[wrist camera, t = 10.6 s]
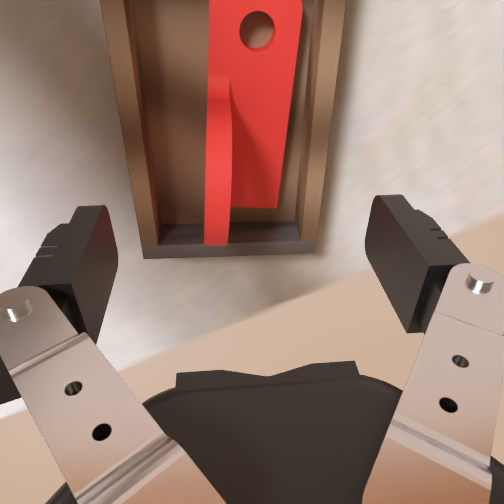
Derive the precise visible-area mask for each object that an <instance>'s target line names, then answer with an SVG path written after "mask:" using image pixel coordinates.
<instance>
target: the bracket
mask: <svg viewBox="0 0 504 504" xmlns="http://www.w3.org/2000/svg"><path fill="white" fill-rule="evenodd" d="M253 11H263V12H265V13H267V14H268V15H269V16H270V18H271V20H272V24H273V32H272V36H271V38H270V40H269V41H268V42H267V43H266V44H265V45H264V46H262V47H259V48H251V47H249V46H247V45H245V44H244V43H243V42H242V40H241V38H240V34H239V29H240V24H241V22H242V20H243V18H244V17H245V16H246V15H247V14H249V13H251V12H253ZM302 12H303V6H302V1H301V0H209V50H208V97H207V128H206V171H205V221H204V245H205V246H227V242H228V234H229V221H230V207H252V208H277V202H278V195H279V187H280V180H281V172H282V164H283V157H284V149H285V142H286V134H287V126H288V119H289V111H290V103H291V96H292V88H293V81H294V73H295V65H296V58H297V50H298V43H299V35H300V27H301V20H302Z"/></svg>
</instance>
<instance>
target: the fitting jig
mask: <svg viewBox="0 0 504 504" xmlns="http://www.w3.org/2000/svg"><path fill="white" fill-rule="evenodd" d="M301 1H302V6H303V12H302V20H301V27H300V35H299V43H298V50H297V58H296V65H295V73H294V81H293V88H292V96H291V103H290V111H289V119H288V126H287V134H286V142H285V149H284V157H283V164H282V172H281V180H280V187H279V195H278V202H277V208H252V207H230V221H229V234H228V242H227V246H205V245H204V221H205V171H206V128H207V97H208V50H209V0H100V4H101V10H102V16H103V21H104V27H105V33H106V39H107V45H108V51H109V57H110V63H111V69H112V75H113V81H114V86H115V92H116V98H117V104H118V110H119V116H120V122H121V128H122V134H123V140H124V146H125V152H126V157H127V163H128V169H129V175H130V181H131V187H132V193H133V199H134V205H135V211H136V217H137V222H138V228H139V234H140V240H141V246H142V252H143V258H144V259H161V258H190V257H219V256H248V255H276V254H305V253H315V248H316V240H317V232H318V224H319V216H320V208H321V200H322V192H323V184H324V176H325V168H326V160H327V152H328V144H329V135H330V127H331V119H332V111H333V103H334V95H335V87H336V79H337V71H338V63H339V55H340V47H341V39H342V31H343V22H344V14H345V6H346V0H301ZM272 32H273V24H272V20H271V18H270V16H269V15H268V14H267V13H265V12H263V11H253V12H251V13H249V14H247V15H246V16H245V17H244V18H243V20H242V22H241V24H240V29H239V34H240V38H241V40H242V42H243V43H244V44H245V45H247V46H249V47H251V48H259V47H262V46H264V45H265V44H266V43H267V42H268V41H269V40H270V38H271V36H272Z"/></svg>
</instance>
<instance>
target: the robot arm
mask: <svg viewBox="0 0 504 504" xmlns="http://www.w3.org/2000/svg"><path fill="white" fill-rule="evenodd" d="M365 251H366V255H367V258H368V260H369V262H370V264H371V266H372V268H373V269H374V271H375V273H376V275H377V277H378V279H379V281H380V283H381V285H382V287H383V289H384V291H385V292H386V294H387V296H388V298H389V300H390V302H391V304H392V306H393V308H394V310H395V312H396V313H397V315H398V317H399V319H400V321H401V323H402V325H403V327H404V329H405V331H406V333H420V332H423V333H424V335H425V336H424V339H423V341H422V344H421V346H420V349H419V352H418V354H417V357H416V360H415V362H414V365H413V367H412V369H411V372H410V375H409V377H408V380H407V382H406V385H405V387H404V390H403V391H402V390H400V389H399V388H397V387H395V386H393V385H391V384H389V383H387V382H384V381H381V380H379V379H376V378H372V377H368V376H365V375H360V374H359V372H358V369H357V366H356V364H355V361H345V362H330V363H315V364H309V365H306V366H303V367H299V368H296V369H293V370H290V371H287V372H283V373H280V374H276V375H273V376H259V375H252V374H245V373H239V372H232V371H225V370H213V371H198V372H184V373H177V375H176V387H175V388H172V389H168V390H166V391H164V392H161V393H159V394H157V395H155V396H153V397H151V398H149V399H148V400H146V401H145V402H143V403H142V404H141V402H140V401H139V400H138V399H137V397H136V396H135V395H134V393H133V392H132V391H131V390H130V388H129V387H128V386H127V385H126V383H125V382H124V381H123V379H122V378H121V377H120V376H119V374H118V373H117V372H116V370H115V369H114V368H113V367H112V365H111V364H110V363H109V361H108V360H107V359H106V358H105V356H104V355H103V354H102V352H101V351H100V350H99V349H98V347H97V346H96V343H97V340H98V336H99V333H100V329H101V326H102V322H103V318H104V315H105V311H106V308H107V304H108V301H109V297H110V294H111V290H112V286H113V283H114V279H115V276H116V272H117V268H118V251H117V246H116V242H115V238H114V233H113V229H112V225H111V220H110V216H109V212H108V209H107V207H106V206H105V205H99V206H78V207H77V209H76V211H75V213H74V215H73V217H72V219H71V221H70V223H69V224H60V225H58V226H57V227H56V228H55V229H53V230H52V231H51V232H50V233H48V234H47V236H46V238H45V239H44V241H43V243H42V245H41V248H39V250H38V252H37V254H36V258H34V259H33V261H32V262H31V264H30V266H29V268H28V270H27V271H26V273H25V275H24V277H23V278H22V280H21V282H20V284H19V286H18V287H17V288H13V289H10V290H8V291H5V292H3V293H1V294H0V404H3V403H6V402H9V401H12V400H15V399H18V398H21V397H22V398H23V400H24V402H25V404H26V406H27V408H28V410H29V411H30V413H31V415H32V417H33V419H34V421H35V423H36V425H37V427H38V429H39V431H40V432H41V434H42V436H43V438H44V440H45V442H46V444H47V446H48V448H49V449H50V451H51V453H52V455H53V457H54V459H55V461H56V463H57V465H58V467H59V469H60V471H61V473H62V474H63V476H64V478H65V480H66V482H65V483H64V484H63V485H62V486H61V487H60V488H59V489H58V491H57V492H56V493H55V494H54V495H53V496H52V497H51V498H50V499H49V500H48V501H47V502H46V503H45V504H504V465H503V464H501V463H500V462H499V461H497V460H496V459H495V458H493V457H492V456H491V451H492V445H493V439H494V433H495V427H496V421H497V415H498V408H499V402H500V396H501V390H502V384H503V378H504V276H503V275H502V274H500V273H499V272H497V271H495V270H493V269H491V268H488V267H486V266H483V265H479V264H472V263H470V262H469V261H468V260H467V259H466V257H465V256H464V255H463V254H462V253H461V251H460V250H459V249H458V248H457V247H456V246H455V244H454V243H453V242H452V241H451V240H450V239H448V236H447V235H446V234H445V232H444V231H443V230H441V228H440V226H439V225H438V224H437V223H436V222H435V221H434V219H433V218H431V217H430V216H428V215H426V214H425V213H423V212H422V211H420V210H414V209H413V208H412V206H411V205H410V204H409V203H408V201H407V200H406V199H405V198H404V196H403V195H377V196H375V198H374V200H373V203H372V207H371V212H370V217H369V222H368V227H367V232H366V237H365Z"/></svg>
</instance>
